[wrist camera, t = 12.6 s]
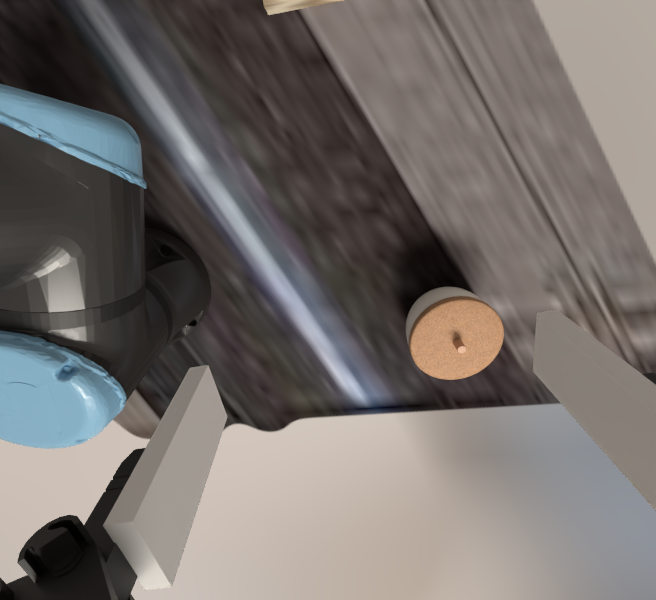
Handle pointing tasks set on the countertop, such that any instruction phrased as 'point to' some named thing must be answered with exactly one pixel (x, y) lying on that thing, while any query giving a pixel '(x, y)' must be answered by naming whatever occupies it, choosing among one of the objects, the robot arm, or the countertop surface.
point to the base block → (291, 5)
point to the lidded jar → (453, 333)
